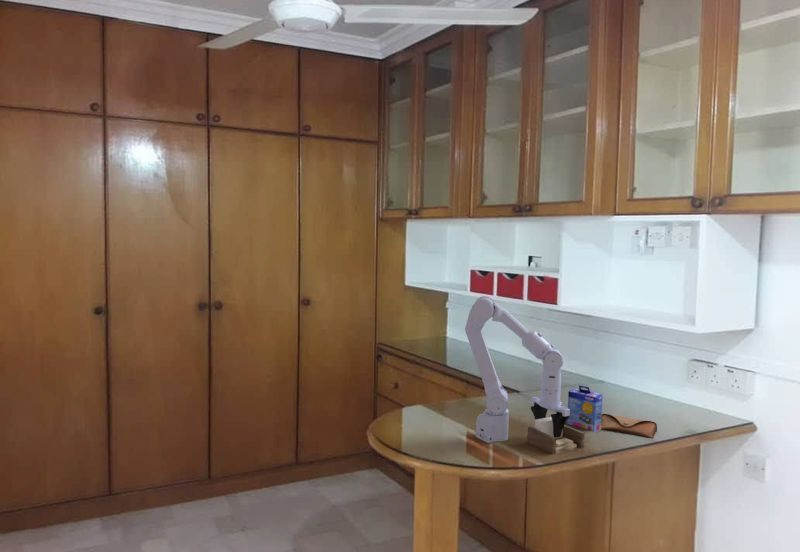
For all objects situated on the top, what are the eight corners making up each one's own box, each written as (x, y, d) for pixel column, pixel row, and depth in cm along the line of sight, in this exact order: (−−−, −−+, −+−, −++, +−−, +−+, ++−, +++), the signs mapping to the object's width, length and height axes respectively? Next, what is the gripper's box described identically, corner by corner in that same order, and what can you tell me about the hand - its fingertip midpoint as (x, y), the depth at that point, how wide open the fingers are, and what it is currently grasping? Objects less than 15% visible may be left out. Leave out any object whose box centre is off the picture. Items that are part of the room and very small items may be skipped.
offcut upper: (557, 447, 184) (557, 444, 184) (550, 444, 187) (550, 440, 186) (573, 444, 187) (573, 441, 187) (565, 441, 190) (566, 437, 189)
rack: (552, 457, 182) (553, 438, 181) (527, 445, 191) (528, 427, 191) (583, 450, 187) (584, 432, 187) (557, 439, 197) (558, 422, 196)
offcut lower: (555, 451, 183) (556, 448, 183) (547, 447, 186) (547, 444, 186) (576, 447, 187) (576, 444, 187) (567, 443, 190) (567, 440, 190)
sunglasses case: (596, 429, 208) (598, 409, 210) (598, 434, 213) (601, 415, 216) (655, 438, 200) (657, 418, 202) (655, 444, 206) (657, 424, 208)
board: (539, 445, 188) (540, 422, 188) (534, 442, 191) (535, 419, 190) (562, 440, 193) (563, 418, 192) (556, 438, 195) (557, 415, 194)
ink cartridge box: (565, 426, 210) (567, 383, 208) (573, 423, 214) (575, 380, 213) (594, 434, 203) (596, 389, 202) (601, 430, 207) (603, 386, 206)
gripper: (578, 393, 186) (576, 438, 187) (544, 381, 199) (542, 424, 200) (560, 396, 183) (558, 442, 184) (526, 384, 195) (525, 427, 196)
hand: (548, 433), depth 192 cm, fingers open, 7 cm apart
